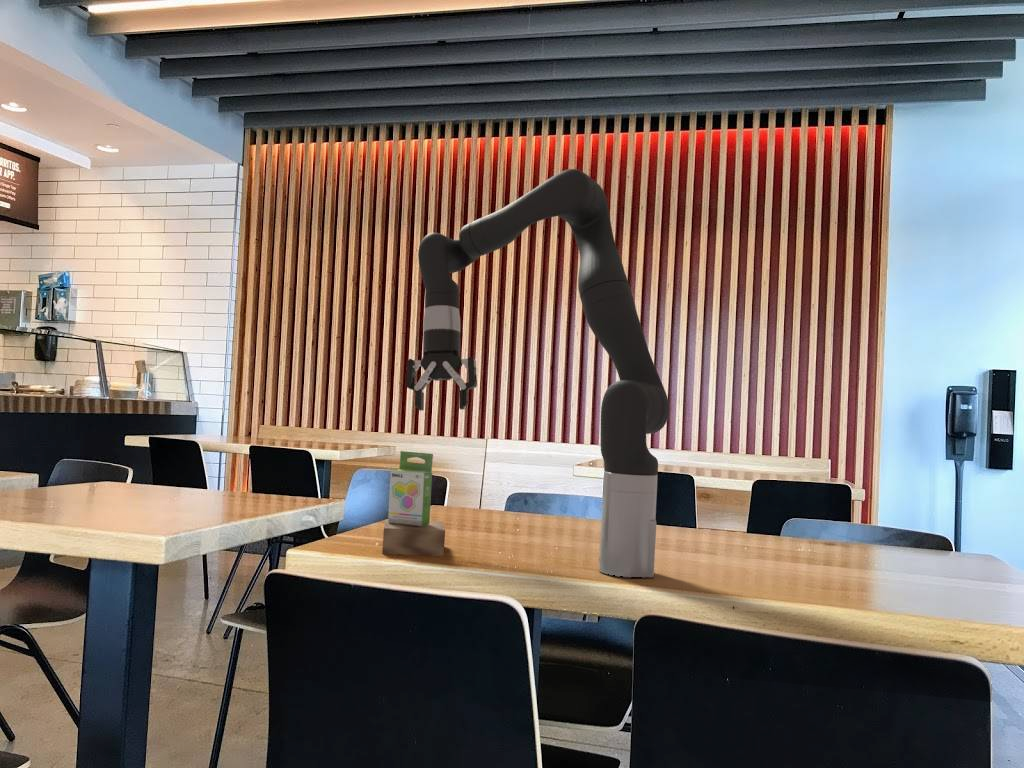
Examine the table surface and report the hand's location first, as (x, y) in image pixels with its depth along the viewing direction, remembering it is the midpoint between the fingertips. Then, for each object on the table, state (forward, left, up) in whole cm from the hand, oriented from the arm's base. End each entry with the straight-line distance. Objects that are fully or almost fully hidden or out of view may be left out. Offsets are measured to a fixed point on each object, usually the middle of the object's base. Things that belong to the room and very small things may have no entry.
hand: (441, 409), depth 162 cm
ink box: (+3, +11, -22) cm, 25 cm away
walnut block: (+2, +12, -27) cm, 29 cm away
